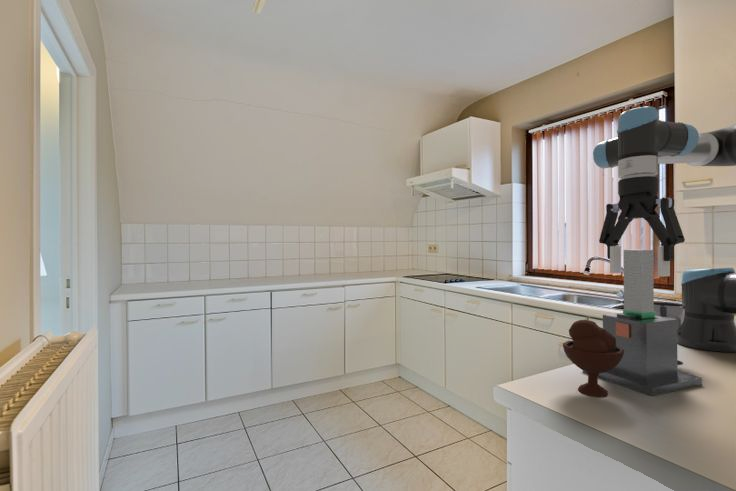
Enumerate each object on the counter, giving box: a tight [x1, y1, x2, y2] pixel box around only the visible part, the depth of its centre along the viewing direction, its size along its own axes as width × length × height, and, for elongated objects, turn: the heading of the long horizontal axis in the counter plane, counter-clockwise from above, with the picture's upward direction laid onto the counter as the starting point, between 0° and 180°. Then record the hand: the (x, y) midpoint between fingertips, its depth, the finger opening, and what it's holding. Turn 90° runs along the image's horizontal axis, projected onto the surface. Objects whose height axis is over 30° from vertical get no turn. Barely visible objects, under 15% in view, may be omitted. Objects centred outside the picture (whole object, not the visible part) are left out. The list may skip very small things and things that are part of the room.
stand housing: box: [582, 312, 703, 397], centre depth 87 cm, size 16×16×15 cm
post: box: [622, 249, 655, 320], centre depth 87 cm, size 4×4×21 cm
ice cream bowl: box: [562, 319, 624, 398], centre depth 79 cm, size 11×11×15 cm
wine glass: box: [654, 300, 685, 366], centre depth 99 cm, size 8×8×15 cm
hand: (638, 274), depth 87 cm, fingers open, 10 cm apart
